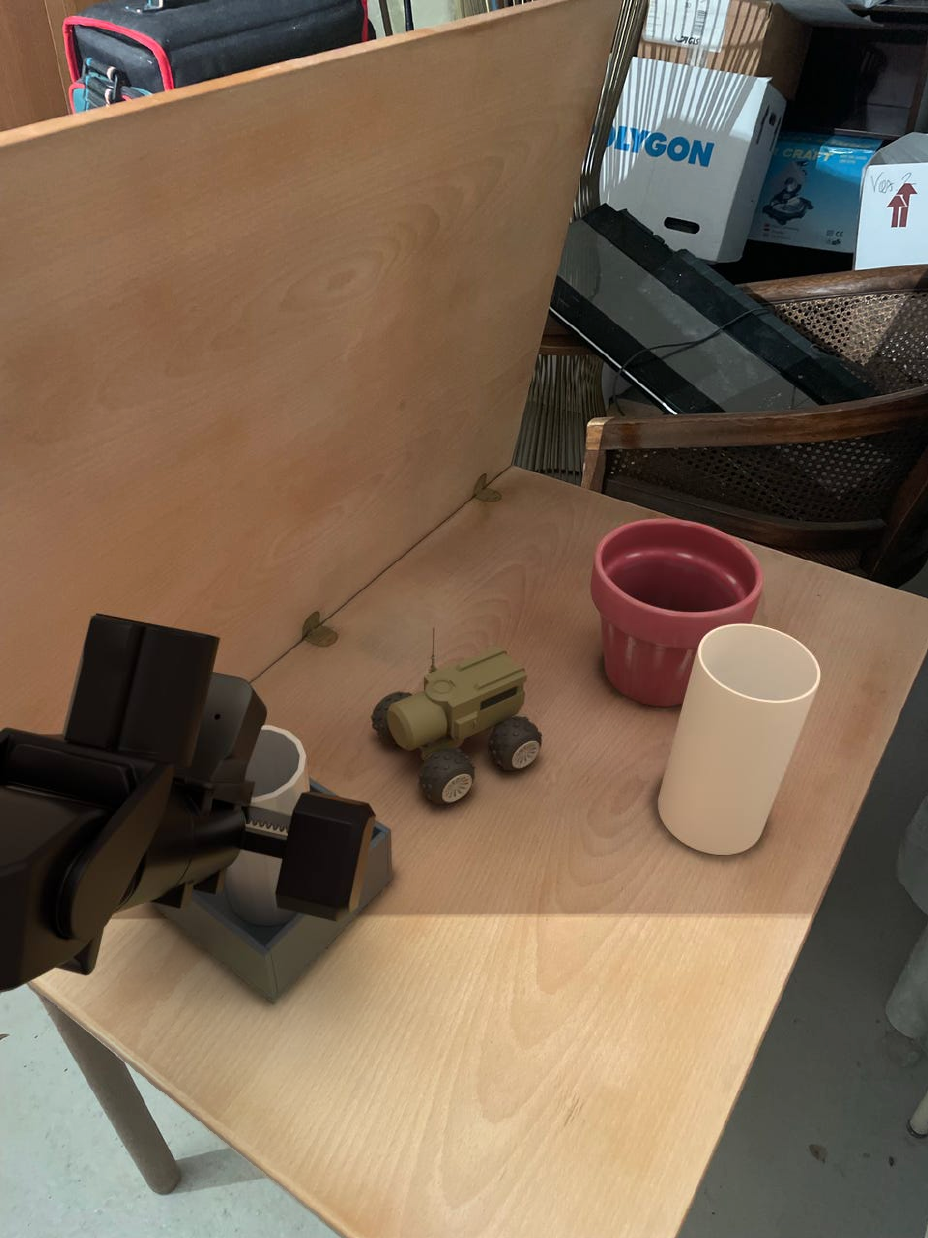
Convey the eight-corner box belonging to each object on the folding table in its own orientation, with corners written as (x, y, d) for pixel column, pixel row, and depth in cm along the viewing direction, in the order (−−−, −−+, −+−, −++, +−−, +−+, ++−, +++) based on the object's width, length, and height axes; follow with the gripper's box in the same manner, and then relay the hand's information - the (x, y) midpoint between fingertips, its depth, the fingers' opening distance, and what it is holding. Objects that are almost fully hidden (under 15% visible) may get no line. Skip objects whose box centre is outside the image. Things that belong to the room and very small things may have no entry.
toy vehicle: (545, 763, 75) (560, 653, 67) (432, 819, 70) (434, 708, 62) (474, 688, 81) (480, 582, 74) (366, 735, 76) (361, 626, 69)
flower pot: (663, 753, 76) (693, 637, 68) (546, 667, 84) (560, 554, 76) (761, 681, 84) (798, 569, 76) (644, 608, 92) (667, 500, 84)
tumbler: (314, 926, 62) (298, 802, 53) (219, 926, 61) (190, 802, 53) (323, 849, 67) (310, 725, 58) (235, 849, 66) (211, 724, 58)
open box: (273, 1004, 58) (264, 956, 54) (151, 905, 63) (135, 856, 60) (392, 878, 66) (391, 829, 62) (274, 799, 71) (267, 750, 67)
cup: (723, 874, 67) (778, 721, 57) (636, 808, 71) (673, 656, 61) (783, 816, 71) (844, 665, 61) (698, 757, 76) (741, 608, 66)
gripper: (358, 711, 42) (420, 719, 57) (5, 640, 45) (153, 666, 61) (308, 952, 41) (385, 895, 56) (-51, 863, 44) (115, 831, 59)
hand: (257, 814), depth 58 cm, fingers open, 9 cm apart
